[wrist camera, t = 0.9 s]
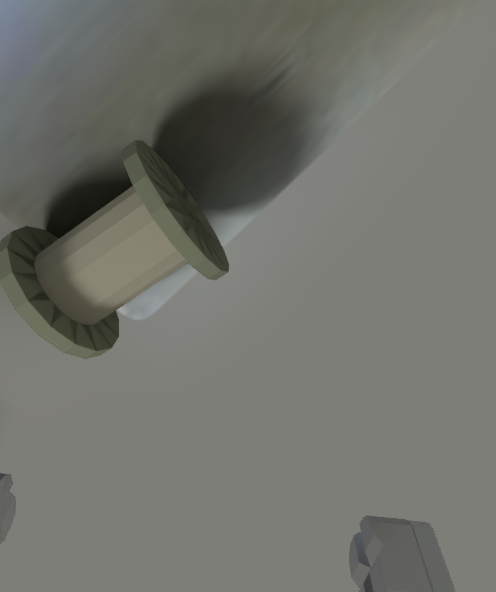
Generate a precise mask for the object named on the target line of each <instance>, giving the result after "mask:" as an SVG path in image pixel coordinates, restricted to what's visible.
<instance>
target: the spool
mask: <svg viewBox="0 0 496 592" xmlns="http://www.w3.org/2000/svg"><path fill="white" fill-rule="evenodd" d="M122 152H123V164H124V166H125V168H126V171H127V173H128V175H129V178H130V180H131V182H132V185H133V186H132V187H130V188H129V189H128V190H126V191H125V192H123V193H122V194H121V195H119V196H118V197H117V198H115V199H114V200H112V201H111V202H110V203H108V204H107V205H105V206H104V207H103V208H101V209H100V210H98V211H97V212H96V213H94V214H93V215H92V216H90V217H89V218H87V219H86V220H85V221H83V222H82V223H80V224H79V225H78V226H76V227H75V228H73V229H72V230H71V231H69V232H68V233H67V234H65V235H64V236H62V237H61V238H60V239H59V238H58V237H56V236H54V235H53V234H51V233H49V232H48V231H46V230H42V229H38V228H34V227H29V226H25V227H23V228H20V229H17V230H15V231H13V232H11V233H10V234H9V235H7V236H6V237H5V238H3V239H2V240H1V242H0V283H1V285H2V286H3V288H4V290H5V292H6V294H7V295H8V298H9V299H10V301H11V303H12V305H13V307H14V308H15V310H16V311H17V312H18V313H19V314H20V316H21V317H22V318H23V319H24V320H25V321H26V322H27V323H28V324H29V326H30V327H31V328H32V329H33V330H34V331H35V332H36V333H37V334H38V335H39V336H40V337H41V338H43V339H44V340H46V341H47V342H49V343H50V344H52V345H53V346H55V347H56V348H58V349H59V350H60V351H62V352H64V353H67V354H70V355H74V356H77V357H81V358H84V359H87V358H91V357H94V356H99V355H101V354H103V353H105V352H106V351H108V350H109V349H111V348H112V347H113V345H114V343H115V342H116V340H117V339H118V337H119V319H118V316H117V313H116V310H117V309H118V308H120V307H121V306H123V305H124V304H126V303H127V302H129V301H130V300H132V299H133V298H135V297H136V296H138V295H139V294H141V293H142V292H144V291H145V290H147V289H148V288H150V287H151V286H153V285H154V284H156V283H157V282H159V281H160V280H162V279H163V278H165V277H166V276H168V275H169V274H171V273H172V272H174V271H175V270H177V269H178V268H180V267H181V266H183V265H184V264H186V263H187V262H189V264H190V265H191V266H192V267H193V268H195V269H196V270H197V271H198V272H200V273H201V274H202V275H203V276H205V277H206V278H207V279H212V280H217V279H218V278H220V277H221V276H223V275H224V274H226V273H228V270H229V263H228V261H227V258H226V255H225V252H224V249H223V247H222V246H221V244H220V242H219V240H218V238H217V236H216V234H215V232H214V230H213V229H212V227H211V225H210V224H209V222H208V220H207V219H206V217H205V215H204V214H203V212H202V211H201V209H200V208H199V206H198V205H197V203H196V202H195V200H194V199H193V197H192V196H191V195H190V193H189V192H188V190H187V189H186V187H185V186H184V185H183V184H182V182H181V181H180V180H179V179H178V177H177V176H176V175H175V173H174V172H173V171H172V170H171V168H170V167H169V166H168V165H167V164H166V163H165V162H164V160H163V159H162V158H161V157H160V156H159V155H158V154H157V153H156V152H155V151H154V150H153V149H152V148H151V147H149V146H148V145H147V144H146V143H144V142H143V141H134V142H133V143H131V144H130V145H129V146H127V147H126V148H125V149H123V150H122Z"/></svg>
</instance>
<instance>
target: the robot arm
mask: <svg viewBox="0 0 496 592" xmlns="http://www.w3.org/2000/svg"><path fill="white" fill-rule="evenodd" d="M12 485H13V482H12V478H11V475H10V474H3V473H0V543H2V542H3V541H4V540H5V538H6V536H7V534H8V532H9V530H10V528H11V525H12V522H13V518H14V515H15V509H16V500H15V496H14V495H13V494H12V493H10V492H9V490H10V488H11V486H12ZM360 528H361V532H359V533H357V534H355V535H354V537H353V539H352V541H351V544H350V553H349V562H350V570H351V577H352V579H353V580H354V581H355V583H356V584H357V585H358V587H359V588H360V590H359V592H456V591H455V588H454V585H453V583H452V580H451V577H450V574H449V572H448V569H447V566H446V563H445V560H444V558H443V555H442V552H441V550H440V547H439V544H438V541H437V539H436V536H435V533H434V531H433V528H432V527H431V525H430V524H429V523H426V522H419V521H409V520H405V519H395V518H385V517H375V516H365V517H363V518H362V520H361V522H360Z"/></svg>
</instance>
